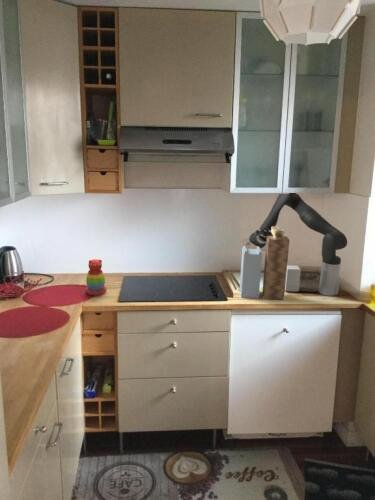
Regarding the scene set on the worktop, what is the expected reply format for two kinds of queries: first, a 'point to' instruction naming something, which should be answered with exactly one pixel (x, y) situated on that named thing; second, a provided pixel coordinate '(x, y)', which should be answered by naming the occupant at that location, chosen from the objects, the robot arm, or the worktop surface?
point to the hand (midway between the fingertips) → (271, 231)
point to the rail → (277, 233)
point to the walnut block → (275, 268)
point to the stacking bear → (95, 278)
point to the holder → (250, 272)
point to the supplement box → (292, 278)
